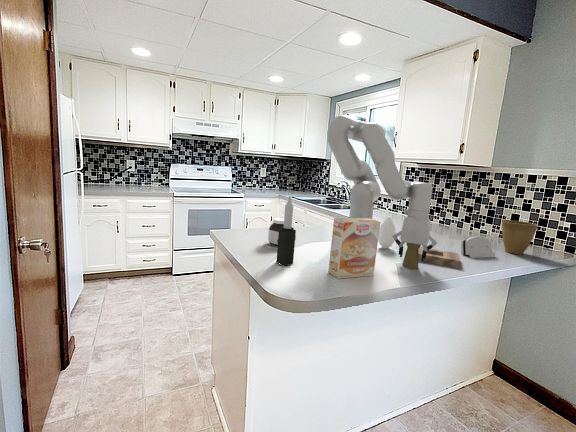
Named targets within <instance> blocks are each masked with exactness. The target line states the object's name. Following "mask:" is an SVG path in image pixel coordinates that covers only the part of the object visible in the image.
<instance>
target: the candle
mask: <svg viewBox="0 0 576 432" xmlns="http://www.w3.org/2000/svg"><path fill="white" fill-rule="evenodd" d="M293 213H294V205H293V203H292V196H288V199H287V202H286V203H285V205H284V216H283V219H284V227H281V229H279V234H278V247H277V250H276V262H278V263H280V264H282V265H281V266H283V265H287V266H289V264H290V265H293V264H294V256H295V247H296V246H295V245H296V243H295V242H296V240H295V235H296V233H297V229H294V227H292V226H293V225H292V224H293V216H294V215H293ZM296 236H297V235H296ZM278 263H277V264H278ZM280 264H279V265H280Z"/></svg>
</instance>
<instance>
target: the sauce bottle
mask: <svg viewBox="0 0 576 432" xmlns="http://www.w3.org/2000/svg"><path fill="white" fill-rule="evenodd" d="M395 226H396V225H395V222H394V220H393V217H392V216H391V211H389V213H388V216H386V217H385V219H384V220H383V221H382V222H381V223H380V230H379V237H378V244H379V246H380V247H381V248H382V249H386V250H387V249H389V248H391V247H392V246H393V245H394V243H395V240H394V238H393V235H394V234H396V233H397V232H396V231H397V230H396V227H395Z"/></svg>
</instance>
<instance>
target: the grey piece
mask: <svg viewBox="0 0 576 432" xmlns="http://www.w3.org/2000/svg"><path fill="white" fill-rule="evenodd" d="M460 244H461V245H460V246H461V247H460V249H461V256H469V258H471V259H476V258H477V259H478V258H495V257H496V255H495V252H494V251H493V249H492V246H491V242H490V239H489V238H487V237H483V236H469V237H467V238H464V239H462V240H461V241H460Z"/></svg>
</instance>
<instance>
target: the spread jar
mask: <svg viewBox="0 0 576 432" xmlns="http://www.w3.org/2000/svg"><path fill="white" fill-rule="evenodd" d="M272 219H273V220H272V223H271V224H270V225H269V228H268V233H267V234H268V237H267V240H268V243H269V244H270V245H271V246H273V247H276V246H278V234H279V229H281V227H284V217H283V218H282V217H277V218H275V217H274V218H272ZM296 240H297V235H295V241H296Z"/></svg>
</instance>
